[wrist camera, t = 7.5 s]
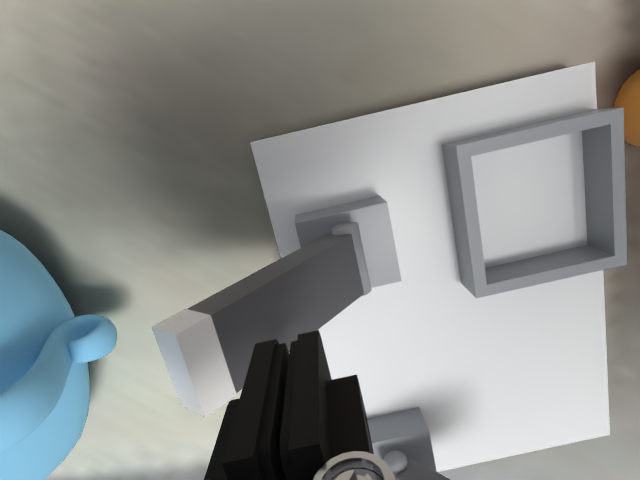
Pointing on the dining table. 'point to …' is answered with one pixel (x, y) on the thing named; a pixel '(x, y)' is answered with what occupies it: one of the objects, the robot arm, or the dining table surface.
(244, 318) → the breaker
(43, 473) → the decorative pot
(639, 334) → the dining table surface
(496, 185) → the panel
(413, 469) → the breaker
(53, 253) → the dining table surface
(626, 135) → the cap
